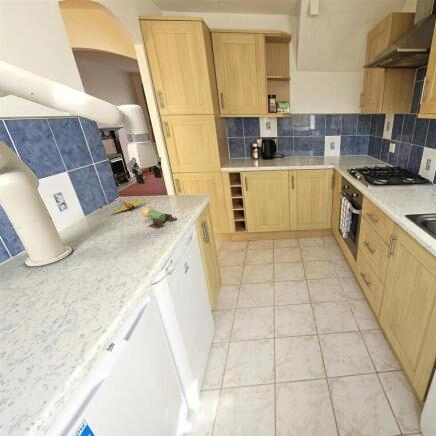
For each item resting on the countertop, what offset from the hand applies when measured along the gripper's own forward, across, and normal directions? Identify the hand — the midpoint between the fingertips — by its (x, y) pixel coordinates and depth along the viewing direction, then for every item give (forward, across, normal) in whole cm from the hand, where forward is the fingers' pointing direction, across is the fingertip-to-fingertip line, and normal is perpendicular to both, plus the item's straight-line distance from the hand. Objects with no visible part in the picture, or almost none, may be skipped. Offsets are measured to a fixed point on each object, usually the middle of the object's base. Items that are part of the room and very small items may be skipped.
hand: (150, 180), depth 103 cm
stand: (+22, -4, -3) cm, 22 cm away
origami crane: (+22, -16, -35) cm, 45 cm away
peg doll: (+19, -4, -3) cm, 20 cm away
